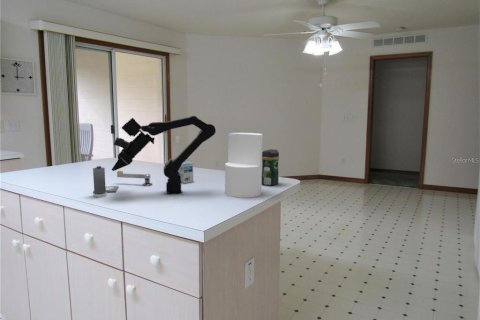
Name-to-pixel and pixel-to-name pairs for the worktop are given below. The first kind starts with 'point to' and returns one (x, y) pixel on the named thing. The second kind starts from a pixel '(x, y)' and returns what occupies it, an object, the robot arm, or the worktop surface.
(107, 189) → the socket
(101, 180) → the plug
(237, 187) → the cylinder
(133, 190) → the worktop surface
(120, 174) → the bar
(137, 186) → the worktop surface
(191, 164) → the light bulb box
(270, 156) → the coffee jar
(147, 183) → the grey flanged disc
